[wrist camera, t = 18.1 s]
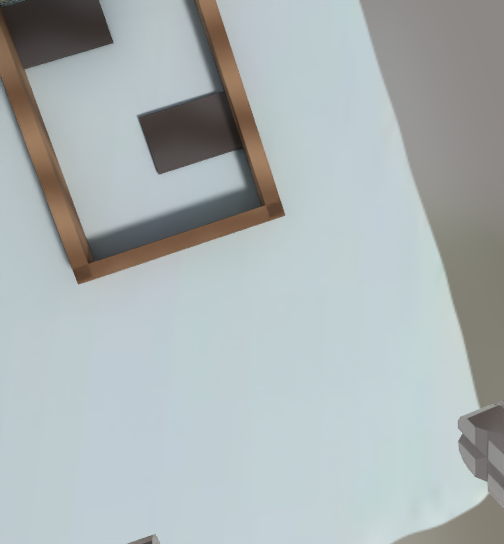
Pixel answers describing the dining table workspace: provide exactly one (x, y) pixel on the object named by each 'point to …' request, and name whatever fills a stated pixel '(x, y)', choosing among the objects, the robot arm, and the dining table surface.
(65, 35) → the box
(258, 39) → the dining table surface
